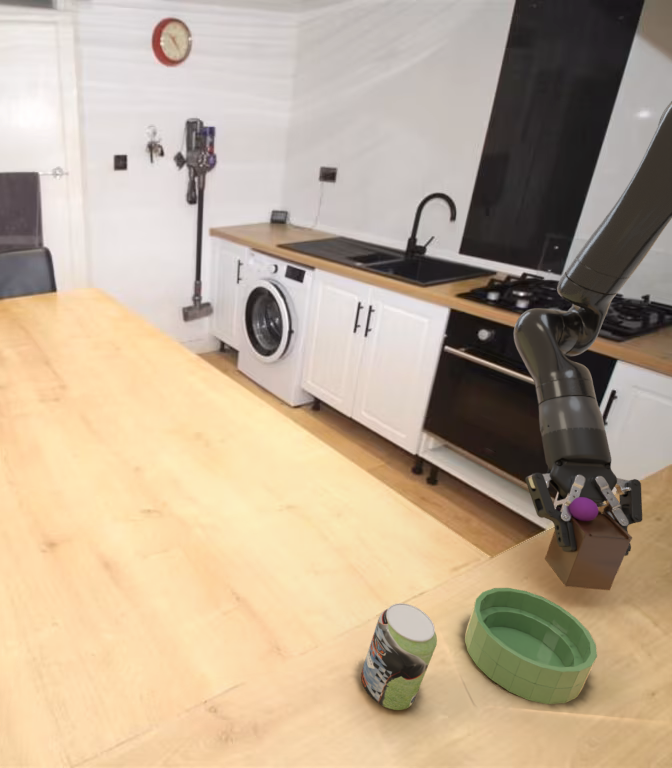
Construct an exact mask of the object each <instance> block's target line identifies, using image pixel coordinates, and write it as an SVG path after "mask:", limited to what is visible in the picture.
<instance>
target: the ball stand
mask: <svg viewBox="0 0 672 768" xmlns="http://www.w3.org/2000/svg"><path fill="white" fill-rule="evenodd" d="M569 522H571V523H573V528H574V534H575V539H576V545H577V550H576V551H573V552H564V551H563V550H562V547H559V545H558V543H557V538H556V533H555V530H554V531H553V533H552V537H551V540H550V543H549V546H548V548H547V550H546V554H545V556H544V560H545V561H546V562H547V564H548V566H550V568H551V569H552V571H553V572H554V573H555V575H556V576H557V577H558V579H559V580H560V581H561V583H562V584H563V585H564V587H569V588H579V589H591V590H599V591H601V590H602V591H611V588H612V585H613V584H614V581H615V579H616V576H617V574H618V573H619V569H620V567H621V565H622V562H623V560H624V558H625V556H624V555H625V553H626V551H627V548H628V546H629V544H630V545H631V541H632V539H633V537H632V535H631V534H630V533H629V532H628V533H627V532H626V531H625V530H624V529H623V528H622V527H621V526H620V525H619V524H618V523H617V522H616V521H615V520H614V519H613V518H612V517H611V516H610V515H609V514H608V513H607V512H606V511H604V512H603V513H602V514H601V512H600V511H598V515H597V517H596V518H594V519H593V520H591V521H580V520H578V519H576V518H574V517H573V516H571V519H570V521H569Z"/></svg>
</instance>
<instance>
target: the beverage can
mask: <svg viewBox="0 0 672 768" xmlns="http://www.w3.org/2000/svg"><path fill="white" fill-rule="evenodd" d="M437 643H438V638H437V633H436V628H435V624H434V622H433V620H432V619H431V618H430V616H429V615H428V614H427V613H425V612H424V611H423V610H422V609H420V608H419V607H416V606H414V605H412V604H409V603H401V602H399V603H394V604H392V605H390V606H389V607H388V608H386V609H384V610H383V611H382V612H381V613H380V615H379V616H378V619H377V623H376V625H375V628H374V631H373V635H372V637H371V641H370V644H369V648H368V650H367V654H366V657H365V659H364V663H363V666H362V669H361V673H360V680H361V681H360V682H361V684H362V688H363V689H364V691H365V692H366V693H367V695H368V696H369V697H370V698H371V699H372V700H373V701H374V702H375V703H377V704H378V705H380V706H382V707H384V708H386V709H389V710H393V711H403V710H407V709H408V708H410V707H411V706H412V705H413V704H414V702H415V700H416V698H417V695H418V692H419V689H420V687H421V685H422V682H423V679H424V678H425V675H426V672H427V670H428V668H429V665H430V663H431V660H432V658H433V655H434V652H435V650H436V647H437Z"/></svg>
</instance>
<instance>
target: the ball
mask: <svg viewBox="0 0 672 768" xmlns="http://www.w3.org/2000/svg"><path fill="white" fill-rule="evenodd" d="M569 509H570V512H571V513H572V516H573V517H574V518H576V519H578V520H580V521H591V520H593V519H594V518H596V517H597V515H598V507H597V505H596V503H595V502H594V501H592V500H591V499H588V498H585V497H578V498H576V499H574V500H573V502H572V503H571V504H570V506H569Z"/></svg>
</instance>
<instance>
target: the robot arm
mask: <svg viewBox="0 0 672 768" xmlns="http://www.w3.org/2000/svg"><path fill="white" fill-rule="evenodd" d="M671 220H672V100H671V101H670V102H669V104H667V106H666V107H665V109H664V111H663V112H662V115H661V116H660V118H659V121H658V124H657V127H656V130H655V131H654V134H653V136H652V138H651V140H650V142H649V145H648V147H647V149H646V151H645V153H644V155H643V157H642V159H641V161H640V163H639V165H638V167H637V169H636V171H635V172H634V174H633V176H632V178H631V179H630V180H629V182H628V184H627V186H626V187H625V189H624V190H623V192H622V194H621V195H620V196H619V198H618V200H616V202H615V204H614V206H613V207H612V208H611V210H610V211H609V212H608V213H607V215H606V216H605V217H604V218H603V220H602V221H601V222H600V224H599V225H598V227H597V228H596V229H595V230H594V232H593V233H592V234H591V235H590V237H589V238H588V239H587V240H586V242H585V243H584V245H583V247H582V248H581V249H580V251H578V253H577V254H576V256H575V258H574V259H573V260H572V262H571V263H570V265H569V266H568V267H567V269H566V270H565V272H564V273H563V274H562V276H561V277H560V279H559V281H558V283H557V286H556V291H557V293H558V295H559V297H561V298H562V299H563V300H564V301H566V302H567V303H570V304H571V307H570V308H569V309H568V310H562V309H561V310H560V309H552V308H545V307H533V308H529V309H527V310H525V311H524V312H523V313H522V314H520V315H519V317H518V318H517V320H516V322H515V324H514V329H513V341H514V345H515V347H516V350H517V352H518V354H519V356H520V358H521V360H522V362H523V364H524V366H525V368H526V370H527V372H528V374H529V375H530V377H531V379H532V380H533V383H534V387H535V395H536V400H537V406H538V424H539V425H538V426H539V432H540V436H541V442H542V447H543V448H542V449H543V455H544V459H545V464H546V465H547V472H546V473H541V472H534V473H532V474H530V475H527V476H526V477H525V482H526V486H527V489H528V492H529V495H530V497H531V498H530V499H531V501H532V504H533V506H534V510H535V513H536V515H537V516H538V517H539V518H541V519H543V518H544V519H547V520H549V521H550V522H552V523H553V526H554V531H555V533H556V538H557V543H558V545H559V547H562V550H563V551H564V552H573V551H576V550H577V545H576V539H575V534H574V528H573V523H571V522H569V521H570V519H571V516H572V513H571V512H570V509H569V506H570V504H571V503H572V502H573V500H574V499H576V498H578V497H585V498H588V499H591V500H592V501H594V502H595V503H596V505H597V507H598V511H600V512H601V514H602V513H603V512H604V511H606V512H607V513H608V514H609V515H610V516H611V517H612V518H613V519H614V520H615V521H616V522H617V523H618V524H619V525H620V526H621V527H622V528H623V529H624V530H625V531H626V532H627V533H628V534H629V531H628V527H629V526H630V525H632V524H636V523H641V522H642V521H643V502H642V501H643V500H642V483H641V481H640V480H639V479H637V478H633V479H624V478H621V477H620V478H619V477H617V476H616V473H614V471H613V469H612V454H611V451H610V450H611V449H610V446H609V445H610V444H609V441H608V436H607V432H606V427H605V423H604V418H603V414H602V411H601V409H600V406H599V403H598V401H597V395H596V392H595V387H594V381H593V378H592V374H591V370H590V369H589V368H588V367H586V366H585V365H584V364H582V363H580V362H576V361H574V360H573V359H570V358H572V357H576V356H579V355H581V354H583V353H584V352H586V351H587V350H589V349H590V348H591V347H592V346H593V344H594V343H595V342H596V340H597V338H598V336H599V333H600V331H601V328H602V327H603V326H602V325H603V323H604V320H605V319H606V317H607V314H608V311H609V308H610V306H611V303H612V301H613V299H614V298H615V297H616V295H617V294H618V293H619V292H620V291H621V289H622V288H623V287H624V286H625V284H627V282H628V281H629V279H630V278H631V277H632V275H633V274H634V273H635V272H636V270H637V269H638V268H639V266H641V264H642V262H643V261H644V259H646V256H647V255H648V254H649V252H650V251H651V249H652V247H654V245H655V243H656V242H657V240H659V237H660V236H661V235H662V233H663V231H664V230H665V229H666V227H667V226H668V224H669V223H670V222H671ZM550 486H552V487H553V489H554V490H555V491H556V495H555V498H554V501H553V499H552V496H551V494H550V490H549V487H550ZM614 488H615V489H616V491H615V492H616V494H617V495H619V496H618V497H619V500H618V498H617V496H615V493H614V492H613V490H614ZM631 551H632V545H631V543H630V544H629V546H628V548H627V551H626V553H625V555H624V557H625V556H629V552H631Z"/></svg>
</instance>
